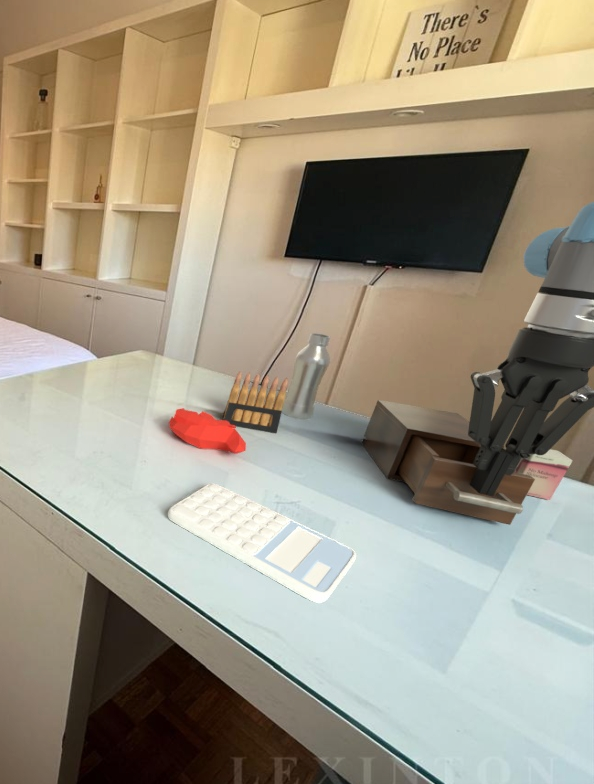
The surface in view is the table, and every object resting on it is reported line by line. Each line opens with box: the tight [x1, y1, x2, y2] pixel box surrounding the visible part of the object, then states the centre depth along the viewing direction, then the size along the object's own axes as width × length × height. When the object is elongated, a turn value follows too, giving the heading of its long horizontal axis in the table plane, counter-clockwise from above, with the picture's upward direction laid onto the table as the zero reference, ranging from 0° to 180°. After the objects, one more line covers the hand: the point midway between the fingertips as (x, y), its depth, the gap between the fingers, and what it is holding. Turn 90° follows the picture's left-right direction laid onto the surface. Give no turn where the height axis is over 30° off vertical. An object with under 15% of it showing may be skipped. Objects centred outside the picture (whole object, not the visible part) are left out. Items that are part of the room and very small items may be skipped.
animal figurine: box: [168, 407, 247, 455], centre depth 88 cm, size 12×15×5 cm
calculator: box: [167, 483, 357, 604], centre depth 61 cm, size 13×20×2 cm, turn 40°
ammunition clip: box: [221, 371, 289, 434], centre depth 96 cm, size 11×2×12 cm, turn 72°
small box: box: [515, 448, 573, 501], centre depth 78 cm, size 5×4×8 cm
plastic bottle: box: [281, 333, 331, 420], centre depth 100 cm, size 6×7×20 cm
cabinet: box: [360, 399, 505, 483], centre depth 84 cm, size 16×13×10 cm
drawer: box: [397, 434, 535, 526], centre depth 72 cm, size 19×12×8 cm, turn 157°
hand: (480, 490), depth 66 cm, fingers closed
